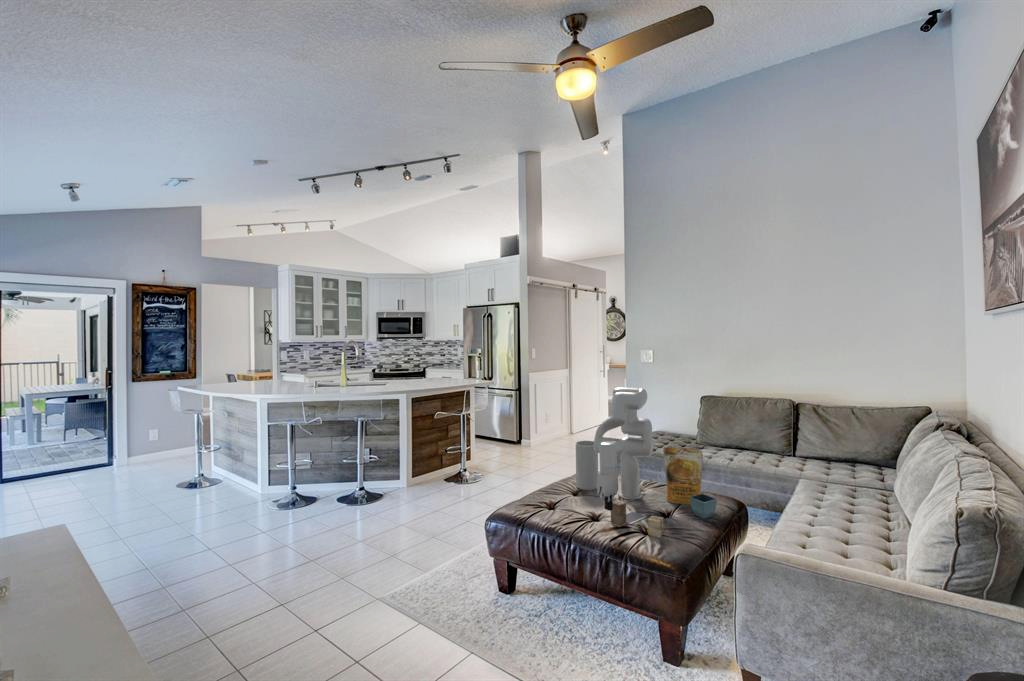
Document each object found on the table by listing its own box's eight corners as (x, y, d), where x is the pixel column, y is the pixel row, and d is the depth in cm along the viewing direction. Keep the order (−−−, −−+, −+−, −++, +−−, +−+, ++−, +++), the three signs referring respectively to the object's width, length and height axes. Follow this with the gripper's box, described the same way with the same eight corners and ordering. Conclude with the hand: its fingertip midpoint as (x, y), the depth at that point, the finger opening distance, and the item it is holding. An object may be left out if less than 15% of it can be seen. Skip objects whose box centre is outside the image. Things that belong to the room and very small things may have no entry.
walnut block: (617, 520, 228) (617, 499, 228) (626, 523, 224) (626, 502, 224) (610, 523, 225) (610, 502, 225) (619, 526, 221) (619, 505, 221)
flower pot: (704, 521, 225) (704, 502, 224) (689, 515, 233) (689, 496, 232) (717, 517, 229) (717, 499, 228) (702, 511, 237) (702, 493, 236)
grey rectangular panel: (631, 511, 238) (631, 511, 238) (646, 517, 231) (646, 516, 231) (614, 518, 230) (614, 518, 230) (630, 524, 223) (630, 524, 223)
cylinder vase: (580, 491, 268) (579, 446, 267) (573, 484, 280) (572, 441, 279) (601, 489, 270) (601, 445, 269) (593, 482, 282) (593, 439, 281)
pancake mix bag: (664, 498, 255) (663, 445, 254) (702, 502, 248) (702, 448, 247) (663, 502, 249) (662, 448, 248) (703, 506, 242) (702, 451, 241)
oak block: (652, 530, 216) (652, 515, 216) (663, 533, 213) (663, 517, 213) (648, 535, 212) (648, 519, 212) (659, 537, 209) (659, 521, 209)
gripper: (612, 464, 227) (612, 503, 228) (590, 471, 217) (591, 511, 218) (625, 467, 221) (625, 507, 222) (603, 475, 212) (604, 516, 212)
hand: (608, 509), depth 220 cm, fingers closed
